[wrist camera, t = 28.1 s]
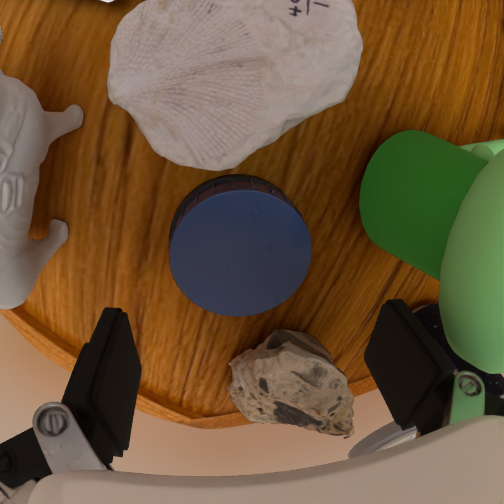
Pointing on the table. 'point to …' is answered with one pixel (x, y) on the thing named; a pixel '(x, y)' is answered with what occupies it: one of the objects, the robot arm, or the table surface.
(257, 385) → the rock
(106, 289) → the table surface
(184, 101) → the fossil
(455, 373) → the beverage can
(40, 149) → the dog figurine
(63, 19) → the table surface
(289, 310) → the table surface
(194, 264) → the lid
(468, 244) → the toy character
